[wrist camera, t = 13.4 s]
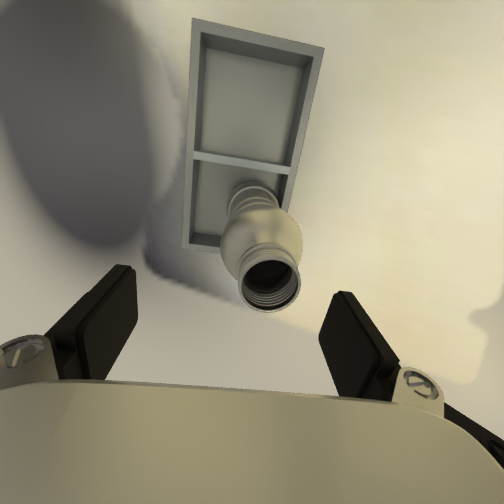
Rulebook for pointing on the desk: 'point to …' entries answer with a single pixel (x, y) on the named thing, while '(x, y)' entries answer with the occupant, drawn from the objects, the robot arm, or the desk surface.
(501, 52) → the desk surface
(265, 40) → the grey divided tray
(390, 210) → the desk surface
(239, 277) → the plastic bottle
